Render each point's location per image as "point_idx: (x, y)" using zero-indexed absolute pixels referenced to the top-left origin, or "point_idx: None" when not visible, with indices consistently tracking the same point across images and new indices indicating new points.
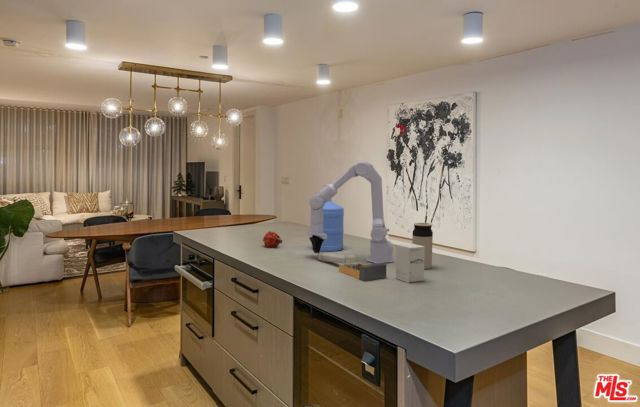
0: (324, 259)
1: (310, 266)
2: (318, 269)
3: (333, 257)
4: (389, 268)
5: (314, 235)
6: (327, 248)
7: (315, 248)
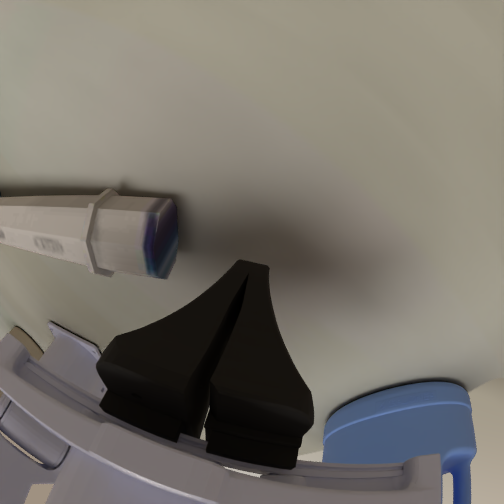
0: (81, 196)
1: (60, 51)
2: (12, 73)
3: (3, 204)
4: (13, 296)
5: (242, 460)
6: (359, 410)
7: (213, 285)
